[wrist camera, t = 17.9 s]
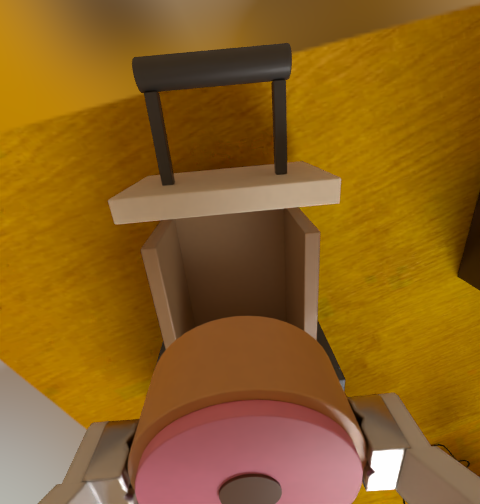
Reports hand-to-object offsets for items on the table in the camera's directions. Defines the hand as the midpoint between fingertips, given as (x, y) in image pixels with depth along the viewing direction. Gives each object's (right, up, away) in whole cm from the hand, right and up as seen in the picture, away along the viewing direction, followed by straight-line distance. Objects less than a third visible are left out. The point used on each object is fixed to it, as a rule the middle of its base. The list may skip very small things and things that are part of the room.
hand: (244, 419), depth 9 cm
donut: (0, 0, +1) cm, 1 cm away
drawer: (-1, +7, +12) cm, 14 cm away
